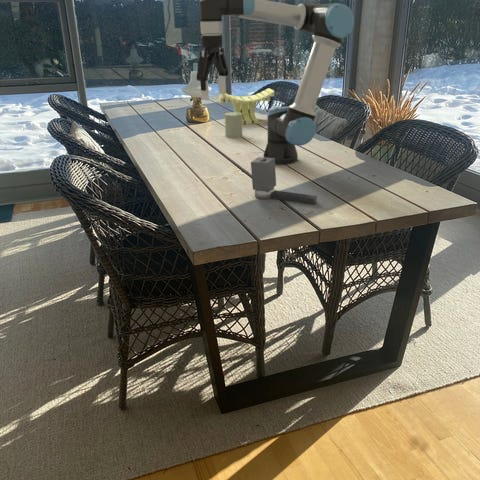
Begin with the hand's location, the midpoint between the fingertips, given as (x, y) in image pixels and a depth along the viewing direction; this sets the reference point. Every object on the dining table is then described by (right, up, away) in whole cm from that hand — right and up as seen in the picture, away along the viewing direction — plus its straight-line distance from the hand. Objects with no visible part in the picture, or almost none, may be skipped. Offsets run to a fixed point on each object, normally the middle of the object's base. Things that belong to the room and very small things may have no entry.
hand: (213, 96), depth 181 cm
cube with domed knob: (+18, -34, -6) cm, 39 cm away
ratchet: (+25, -39, -8) cm, 47 cm away
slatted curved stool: (+14, +18, +111) cm, 113 cm away
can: (+6, +2, +78) cm, 78 cm away
